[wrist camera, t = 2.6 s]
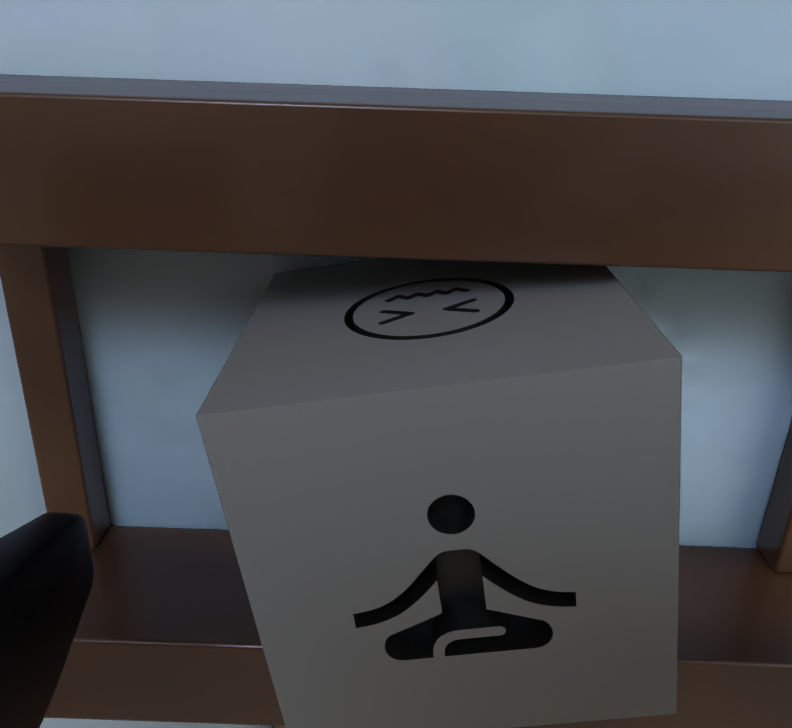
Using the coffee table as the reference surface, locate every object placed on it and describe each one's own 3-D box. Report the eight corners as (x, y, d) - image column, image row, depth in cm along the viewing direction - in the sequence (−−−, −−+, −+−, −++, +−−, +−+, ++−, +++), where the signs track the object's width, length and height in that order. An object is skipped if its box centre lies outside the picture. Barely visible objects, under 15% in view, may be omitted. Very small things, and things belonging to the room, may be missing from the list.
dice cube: (329, 519, 14) (291, 746, 10) (275, 273, 12) (196, 415, 8) (589, 490, 14) (676, 713, 9) (577, 232, 12) (681, 355, 7)
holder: (773, 619, 15) (854, 748, 12) (83, 595, 15) (12, 718, 12) (934, 105, 11) (1106, 129, 8) (-12, 73, 11) (-150, 86, 8)
